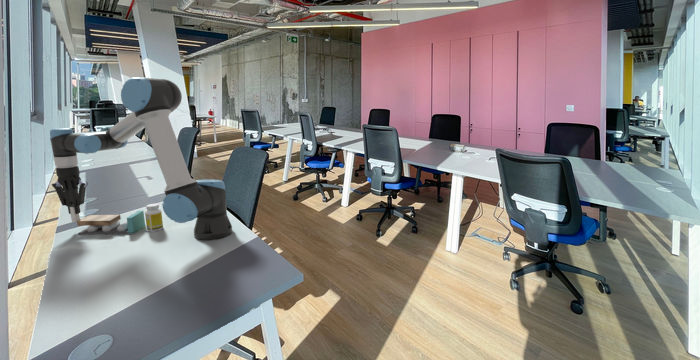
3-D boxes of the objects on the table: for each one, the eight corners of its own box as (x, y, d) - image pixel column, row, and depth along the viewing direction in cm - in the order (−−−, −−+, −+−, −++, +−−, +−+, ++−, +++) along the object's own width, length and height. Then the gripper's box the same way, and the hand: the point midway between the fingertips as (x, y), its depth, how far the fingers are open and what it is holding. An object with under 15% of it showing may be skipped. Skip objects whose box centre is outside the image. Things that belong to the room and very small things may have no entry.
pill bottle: (165, 227, 160) (163, 202, 157) (159, 231, 154) (156, 207, 151) (151, 227, 160) (148, 203, 157) (144, 232, 153) (141, 207, 151)
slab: (120, 219, 159) (120, 214, 158) (110, 225, 151) (109, 220, 150) (89, 219, 158) (89, 215, 157) (77, 225, 150) (76, 221, 149)
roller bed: (145, 225, 161) (143, 210, 160) (133, 233, 151) (131, 217, 150) (93, 226, 159) (91, 211, 158) (78, 234, 150) (75, 218, 148)
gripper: (89, 164, 152) (97, 217, 157) (56, 164, 152) (66, 218, 157) (77, 167, 145) (86, 223, 150) (43, 168, 144) (53, 224, 149)
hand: (76, 220), depth 153 cm, fingers closed
